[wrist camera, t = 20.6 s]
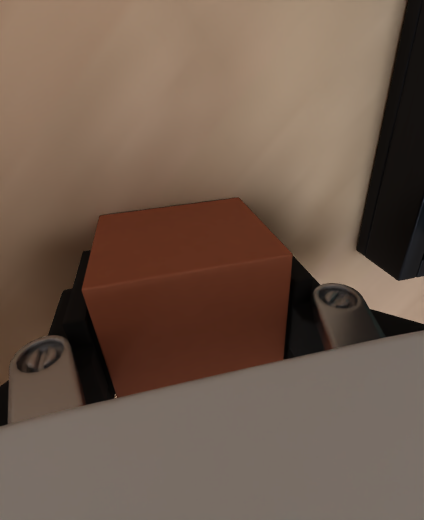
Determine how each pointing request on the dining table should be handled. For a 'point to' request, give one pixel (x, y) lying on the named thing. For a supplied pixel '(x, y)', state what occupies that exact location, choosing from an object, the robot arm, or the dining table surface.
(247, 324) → the reddish brown block
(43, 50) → the dining table surface
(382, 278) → the dining table surface
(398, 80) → the frame
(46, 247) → the dining table surface
